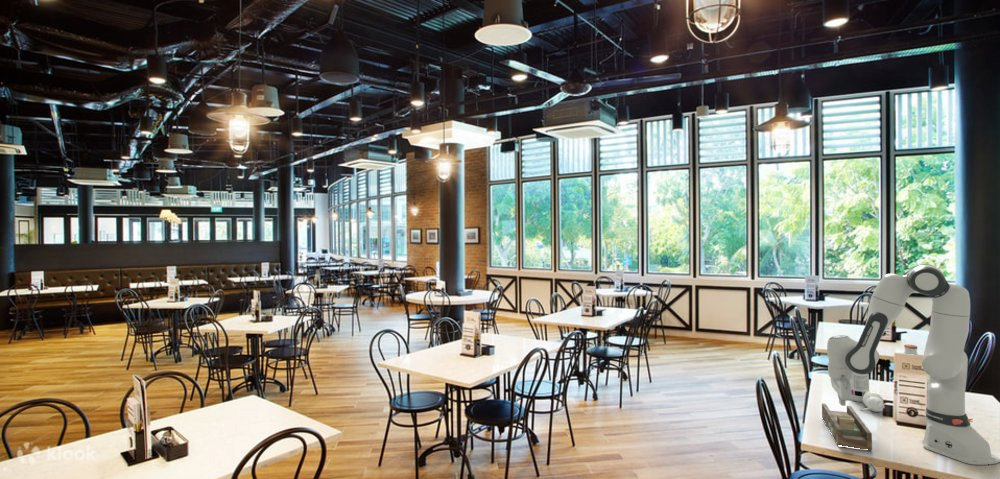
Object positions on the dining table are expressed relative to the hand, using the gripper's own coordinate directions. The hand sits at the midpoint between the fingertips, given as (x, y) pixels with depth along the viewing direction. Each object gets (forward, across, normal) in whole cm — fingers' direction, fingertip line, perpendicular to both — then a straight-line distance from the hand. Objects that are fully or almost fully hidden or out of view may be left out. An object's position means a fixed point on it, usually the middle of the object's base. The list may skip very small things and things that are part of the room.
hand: (842, 404), depth 217 cm
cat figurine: (+10, +28, -17) cm, 34 cm away
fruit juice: (+10, +45, -37) cm, 60 cm away
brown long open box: (+10, -8, +1) cm, 13 cm away
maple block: (+6, -10, +1) cm, 12 cm away
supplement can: (+10, +42, -15) cm, 45 cm away
